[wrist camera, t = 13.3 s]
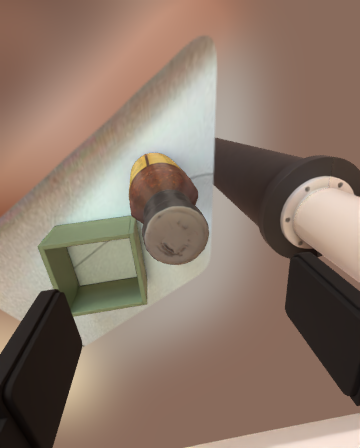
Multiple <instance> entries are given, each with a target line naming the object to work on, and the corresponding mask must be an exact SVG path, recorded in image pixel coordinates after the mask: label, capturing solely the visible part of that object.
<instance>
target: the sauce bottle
mask: <svg viewBox="0 0 360 448" xmlns="http://www.w3.org/2000/svg"><path fill="white" fill-rule="evenodd" d="M197 199H198V190H197V189H196V187H195V186H194V184H193V183H192V181H191V179H190V178H189V177H188V176H187V175H186V173H185V172H184V171H183V170H182V169H181V168H180V167H179V166H178V165H177V164H175V163H174V162H173V161H172V160H171V159H170V158H169V157H167V156H165V155H163V154H160V153H149V154H145V155H143V156H142V157H140V158H139V159H138V160H137V161H136V162H135V164H134V165H133V167H132V170H131V175H130V187H129V201H130V208H131V215H132V217H133V218H135V219H137V220H138V221H140V222H141V223H143V227H142V236H143V240H144V244H145V247H146V249H147V251H148V252H149V253H150V255H151V256H152V257H153V258H154V259H156V260H157V261H160V262H162V263H166V264H172V265H179V264H185V263H188V262H190V261H192V260H193V259H195V258H196V257H197V256H198V255H199V254H200V253H201V252H202V251H203V250H204V248H205V246H206V244H207V241H208V236H209V230H208V224H207V222H206V219H205V218H204V216H203V214H202V213H201V212H200V210H199V209H198V208H197V207H196V206H195V204H196V201H197Z"/></svg>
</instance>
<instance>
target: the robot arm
mask: <svg viewBox="0 0 360 448" xmlns="http://www.w3.org/2000/svg"><path fill="white" fill-rule="evenodd" d="M280 225H281V230H282V233H283V234H284V236H285V238H286V239H287V240H288V241H289V242H291V243H292V244H293V245H295V246H297V247H300V248H304V249H312V248H314V249H315V250H317V251H318V252H319V253H321V254H322V255H323V256H325V257H326V258H327V259H329V260H330V261H331V262H333V263H334V264H335V265H337V266H338V267H339V268H341V269H342V270H343V271H345V272H346V273H347V274H349V275H350V276H351V277H353V278H354V279H355V280H357V281H358V282H359V283H360V197H358V196H355V195H354V193H353V190H352V188H351V187H350V186H349V184H347V183H346V182H345V181H343V180H341V179H339V178H335V177H332V176H321V177H316V178H313V179H310V180H308V181H306V182H305V183H303V184H302V185H300V186H299V187H298V188H296V189H295V190H294V192H293V193H292V194H291V195H290V196H289V198H288V199H287V201H286V202H285V204H284V206H283V209H282V212H281V218H280ZM285 310H286V313H287V315H288V317H289V318H290V320H291V321H292V322H293V324H294V325H295V326H296V328H297V329H298V331H299V332H300V334H302V336H303V338H304V339H305V340H306V342H307V343H308V345H309V346H310V347H311V349H312V350H313V352H314V353H315V354H316V356H317V357H318V359H319V360H320V361H321V363H322V364H323V366H324V367H325V368H326V370H327V371H328V373H329V374H330V375H331V377H332V378H333V380H334V381H335V382H336V384H337V385H338V387H339V388H340V389H341V391H342V392H343V393H344V394H345V395H347V396H350V397H351V399H352V400H353V401H354V403H355V404H356V405H357V406H360V291H359V290H357V289H356V288H355V287H354V286H352V285H351V284H350V283H349V282H347V281H346V280H345V279H343V278H342V277H341V276H340V275H339V274H337V273H336V272H335V271H334V270H332V269H331V268H330V267H329V266H327V265H326V264H325V263H324V262H322V261H321V260H320V259H319V258H317V257H316V256H315V255H314V254H312V253H311V252H304V253H297V254H295V255H294V257H293V258H291V259H290V266H289V275H288V285H287V294H286V303H285ZM81 349H82V340H81V337H80V335H79V332H78V329H77V326H76V324H75V321H74V318H73V315H72V313H71V310H70V307H69V304H68V301H67V299H66V296H65V294H64V292H60V291H59V290H58V289H53V290H47V291H42V292H40V293H39V295H38V296H37V298H36V299H35V301H34V303H33V304H32V306H31V307H30V309H29V310H28V312H27V313H26V315H25V317H24V318H23V320H22V321H21V323H20V324H19V326H18V327H17V329H16V331H15V332H14V334H13V335H12V337H11V338H10V340H9V342H8V343H7V345H6V346H5V348H4V349H3V351H2V352H1V354H0V448H52V447H53V444H54V441H55V437H56V434H57V431H58V427H59V424H60V420H61V417H62V414H63V410H64V407H65V404H66V400H67V397H68V394H69V390H70V387H71V383H72V380H73V377H74V373H75V370H76V367H77V363H78V360H79V357H80V353H81ZM186 448H360V413H357V414H352V415H347V416H342V417H337V418H331V419H327V420H321V421H316V422H311V423H306V424H301V425H296V426H291V427H286V428H281V429H275V430H270V431H265V432H260V433H255V434H250V435H245V436H241V437H235V438H230V439H225V440H221V441H215V442H211V443H205V444H200V445H196V446H191V447H186Z"/></svg>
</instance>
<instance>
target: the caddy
mask: <svg viewBox="0 0 360 448" xmlns="http://www.w3.org/2000/svg"><path fill="white" fill-rule="evenodd" d="M124 238H130V243H131V248H132V253H133V258H134V263H135V268H136V273H137V277H136V278H129V279H123V280H117V281H110V282H104V283H98V284H91V285H85V286H79V284H78V281H77V278H76V275H75V272H74V269H73V266H72V263H71V260H70V257H69V254H68V251H67V248H66V247H68V246H75V245H82V244H89V243H96V242H103V241H110V240H117V239H124ZM38 249H39V252H40V254H41V257H42V260H43V262H44V265H45V267H46V270H47V272H48V275H49V278H50V280H51V283H52V285H53V288H54V289H58V290H59V291H60V292H64V294H65V296H66V299H67V301H68V304H69V307H70V310H71V313H72V315H73V317H74V316H80V315H86V314H92V313H98V312H104V311H110V310H116V309H122V308H128V307H134V306H140V305H146V304H147V276H146V271H145V265H144V260H143V254H142V249H141V243H140V238H139V232H138V227H137V221H136V219H135V218H133V217H132V216H126V217H118V218H111V219H103V220H96V221H88V222H81V223H74V224H66V225H59V226H55V227H54V228H53V229H52V230H51V231H50V232H49V234H48V235H47V236H46V237H45V238H44V239H43V241H42V242H41V243H40V244H39V245H38Z"/></svg>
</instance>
